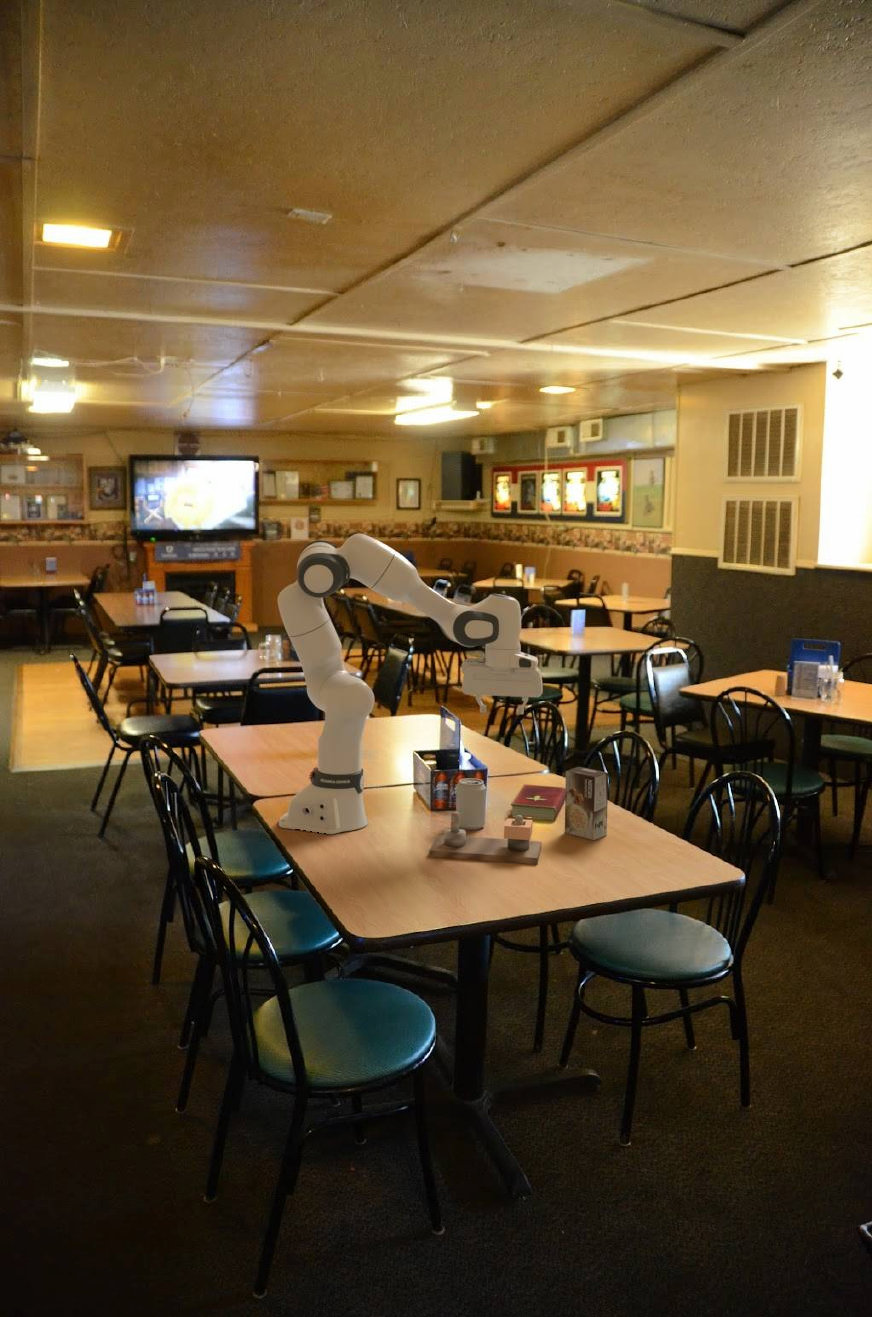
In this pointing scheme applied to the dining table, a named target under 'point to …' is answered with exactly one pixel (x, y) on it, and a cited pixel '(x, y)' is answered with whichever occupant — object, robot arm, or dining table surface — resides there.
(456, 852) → the stand board
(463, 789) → the can
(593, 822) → the coffee box
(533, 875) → the dining table surface
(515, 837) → the collar
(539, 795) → the hardcover book
